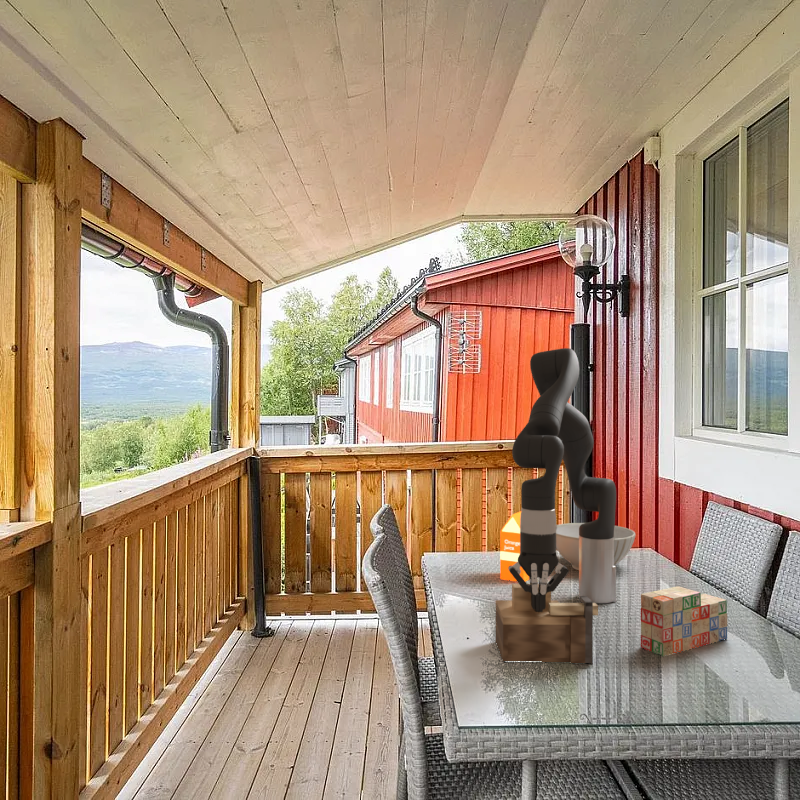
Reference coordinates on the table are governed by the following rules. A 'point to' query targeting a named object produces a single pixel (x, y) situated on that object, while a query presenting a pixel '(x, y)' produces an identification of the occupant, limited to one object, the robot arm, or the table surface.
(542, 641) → the brown wooden box
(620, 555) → the decorative bowl
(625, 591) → the table surface
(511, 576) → the orange juice
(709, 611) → the stack of blocks
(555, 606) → the light wooden plank
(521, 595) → the lid
